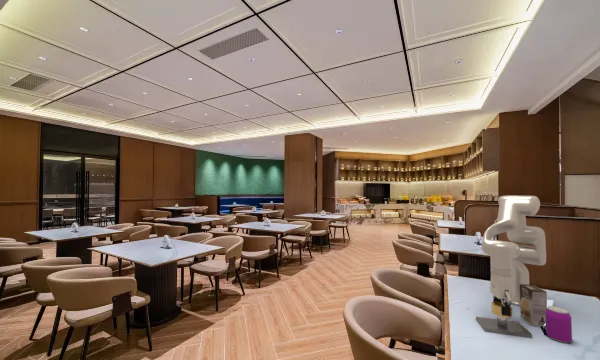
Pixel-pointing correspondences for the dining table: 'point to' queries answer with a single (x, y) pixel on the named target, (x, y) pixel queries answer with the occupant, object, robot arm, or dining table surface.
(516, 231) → the robot arm
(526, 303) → the coffee box
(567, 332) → the beverage can
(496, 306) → the brass ring
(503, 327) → the stand
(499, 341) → the dining table surface
